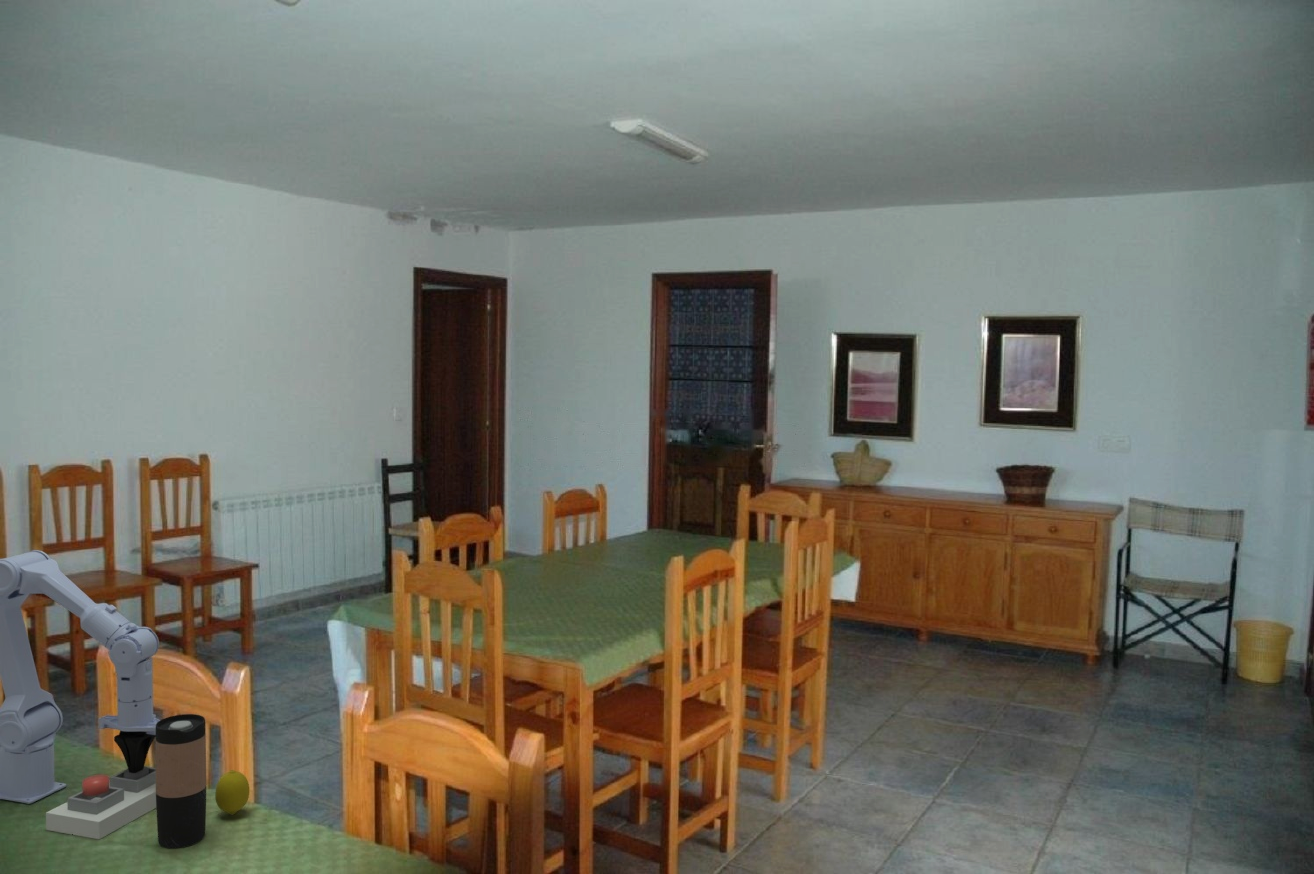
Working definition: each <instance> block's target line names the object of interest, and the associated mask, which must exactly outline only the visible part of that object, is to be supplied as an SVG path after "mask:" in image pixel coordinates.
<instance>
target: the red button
mask: <svg viewBox="0 0 1314 874" xmlns="http://www.w3.org/2000/svg"><path fill="white" fill-rule="evenodd" d="M109 781H110V776H109V775H107V774H95V775H90V776H87V777H86V778H84V779H82V783H81V784H82V791H83V794H84V795H87V796H94V795H99V794H103V793H105V792H107V791H108V790H109Z"/></svg>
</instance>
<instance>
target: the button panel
mask: <svg viewBox="0 0 1314 874" xmlns="http://www.w3.org/2000/svg"><path fill="white" fill-rule="evenodd" d="M144 766H145V767H148V768H149V774H148V775H146V776H144V777H142V778H140V779H138V780H133V779H127V778H124V771H125V770H127V769H128V768H125V769H124V770H122V771H119V772H118V773H116V774H113V775H112V776H109V790H108V791H107V792H105V793H103V794H99V795H94V796H87V795H84V794H83V790H81V791H79V792H78V793H76V794H73V795H71V796H69V797H67V801H66V802H65V803H62V804H60V805H58V806H57V807H54V808H52V809H50V810H49V811H46V812H45V830H46V831H52V832H56V833H61V834H67V835H72V834H73V836H77V837H83V838H89V839H90V838H91V839H94V840H101V839H103V838H104V837H106V836H109V835H110V834H111V833H113V832H115V831H117V830H119V829H120V828H122V827H124V826H125V825H127V824H130V823H131V822H133V821H134V820H137V819H138V818H140V817H142V816H143V815H145V814H147V813H149V812H151V811H152V810H155V809H156V767H153V766H152V767H151V766H146V765H144Z"/></svg>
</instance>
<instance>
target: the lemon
mask: <svg viewBox="0 0 1314 874" xmlns="http://www.w3.org/2000/svg"><path fill="white" fill-rule="evenodd" d="M216 783H217V784H216V787H215V795H214V796H215V798H214V799H215V803H216V806H217V807H218V808H219V809H220V810H221V811H223V812H224V813H228V814H230V815H235V814H236V813H237V812H238V811H241V809H243V808H244V807H245V806H246V805H247V803H248V802H249V801H248V800H249V797H250V784H249V782H248V778H247V777H246V775H245V774H243V772H239V771H236V770H234V769H231V770H229V772H226V773H224V774H223V775H222V776H221V777H220V778H219V780H218V781H217V782H216Z"/></svg>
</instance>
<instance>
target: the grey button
mask: <svg viewBox="0 0 1314 874" xmlns="http://www.w3.org/2000/svg"><path fill="white" fill-rule="evenodd" d="M145 766H146V765H144V769H143V770H141V771H139V772H137V773H130V772H129V770H128V768H126V769H127V770H126V769H124V770H125V771H124V770H123V771H124V778H127V779H133V780H138V779H140V778H142V777H144V776H146V775H148V774H149V768H148V767H149V766H147V767H145Z"/></svg>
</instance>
